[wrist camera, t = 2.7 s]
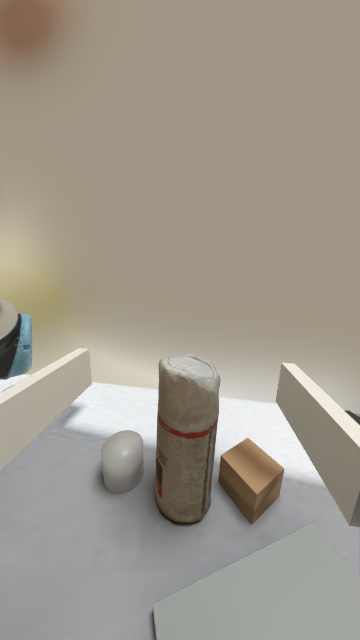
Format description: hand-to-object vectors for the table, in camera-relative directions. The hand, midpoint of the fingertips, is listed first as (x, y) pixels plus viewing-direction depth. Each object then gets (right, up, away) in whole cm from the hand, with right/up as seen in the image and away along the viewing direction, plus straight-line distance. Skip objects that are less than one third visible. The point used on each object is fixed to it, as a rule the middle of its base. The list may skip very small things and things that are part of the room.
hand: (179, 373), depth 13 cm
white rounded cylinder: (-9, -20, +17) cm, 28 cm away
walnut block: (+10, -21, +15) cm, 28 cm away
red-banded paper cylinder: (0, -21, +15) cm, 26 cm away
